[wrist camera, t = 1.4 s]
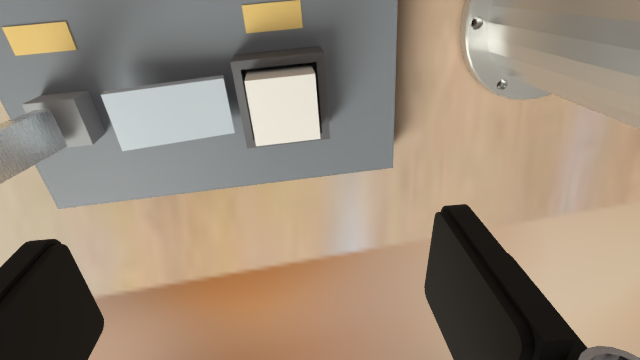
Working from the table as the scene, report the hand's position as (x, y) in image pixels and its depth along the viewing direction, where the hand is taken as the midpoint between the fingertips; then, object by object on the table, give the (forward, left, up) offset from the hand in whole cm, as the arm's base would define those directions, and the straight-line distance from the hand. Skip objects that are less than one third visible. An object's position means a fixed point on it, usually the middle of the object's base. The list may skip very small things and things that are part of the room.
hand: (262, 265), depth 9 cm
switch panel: (+4, 0, -20) cm, 21 cm away
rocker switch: (+6, 0, -15) cm, 17 cm away
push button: (-1, 0, -16) cm, 16 cm away
